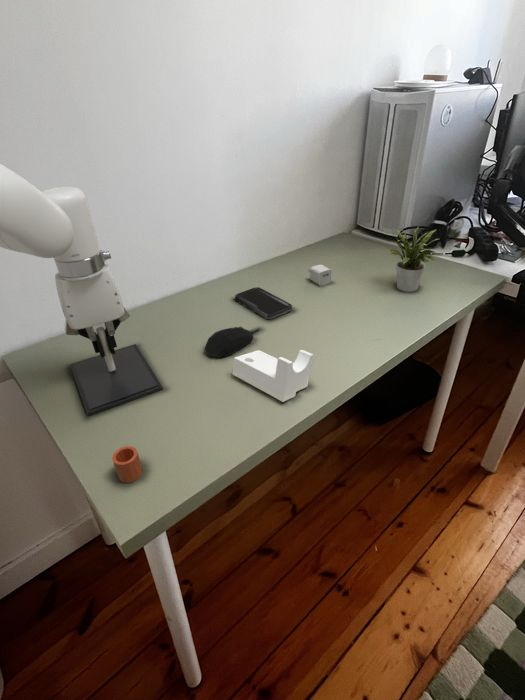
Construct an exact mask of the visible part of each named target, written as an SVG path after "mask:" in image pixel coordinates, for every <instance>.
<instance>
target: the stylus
mask: <svg viewBox="0 0 525 700" xmlns="http://www.w3.org/2000/svg"><path fill="white" fill-rule="evenodd" d="M95 332H96V334H98V337H99V339H100V341H101V344H102V347H103V351H104V354H105V356H104V357H105V360H106V364H107V367H108V370H109V371H110V372H113V371H114V370H115V369H116V368H115V364H114V361H113V358H112V354H111V352H110V348H109V345H108V342H107V338H106V334H105V327H104V326H98V327H97V328H95Z"/></svg>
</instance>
